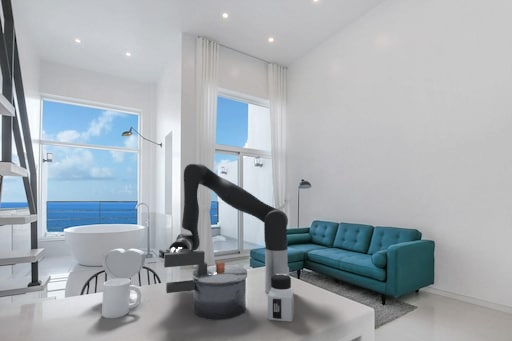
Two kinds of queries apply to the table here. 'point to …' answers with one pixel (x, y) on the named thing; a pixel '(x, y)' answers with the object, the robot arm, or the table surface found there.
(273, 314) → the container
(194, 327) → the table surface
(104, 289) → the mug
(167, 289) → the cooker pot
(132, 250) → the heart sculpture
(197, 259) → the cooker lid
